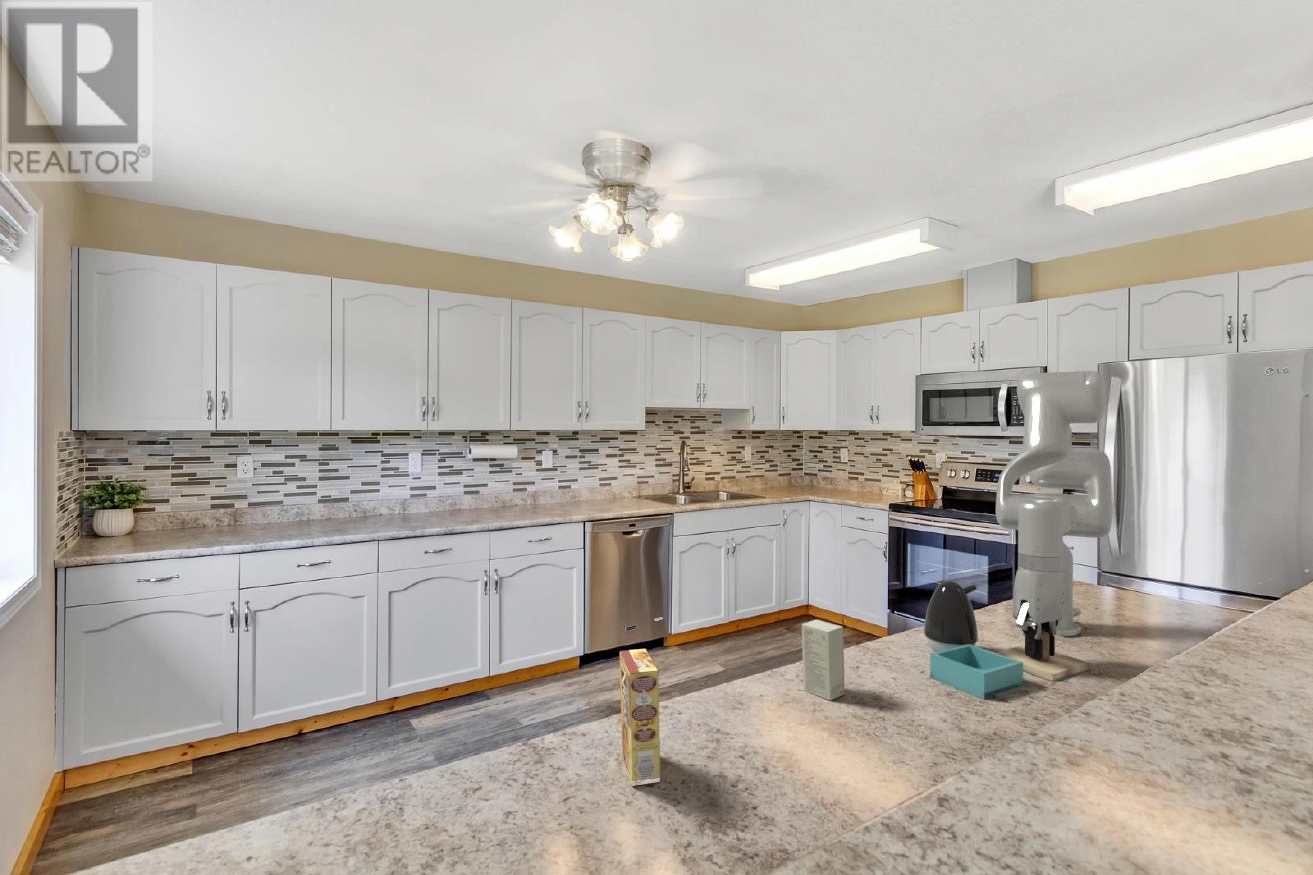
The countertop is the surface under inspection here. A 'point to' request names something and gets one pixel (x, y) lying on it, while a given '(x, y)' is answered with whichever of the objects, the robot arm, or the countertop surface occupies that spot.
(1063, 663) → the lid
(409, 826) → the countertop surface
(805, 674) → the skincare box
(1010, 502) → the robot arm
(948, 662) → the dish
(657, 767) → the candy box
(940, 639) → the pump dispenser
